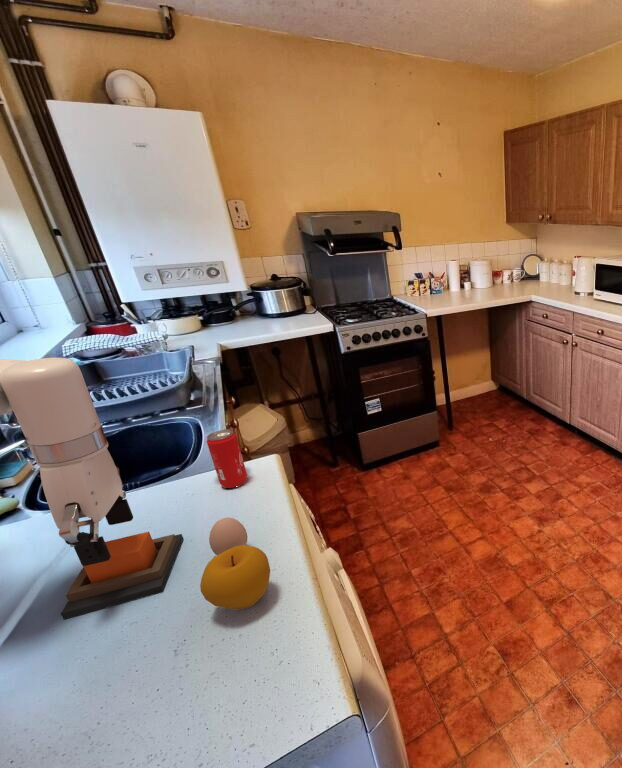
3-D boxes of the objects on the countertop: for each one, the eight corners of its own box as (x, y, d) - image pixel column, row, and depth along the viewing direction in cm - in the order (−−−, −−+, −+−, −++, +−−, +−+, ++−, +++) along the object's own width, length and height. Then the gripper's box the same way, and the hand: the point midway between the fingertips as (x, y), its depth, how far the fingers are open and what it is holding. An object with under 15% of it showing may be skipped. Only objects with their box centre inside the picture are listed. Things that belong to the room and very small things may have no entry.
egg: (253, 557, 74) (242, 522, 71) (216, 571, 71) (203, 535, 69) (249, 539, 78) (239, 505, 76) (215, 552, 75) (203, 517, 73)
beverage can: (224, 478, 97) (209, 430, 92) (250, 474, 98) (237, 426, 94) (217, 492, 92) (201, 442, 88) (245, 487, 94) (230, 437, 89)
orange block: (93, 587, 67) (82, 565, 66) (106, 565, 71) (96, 543, 70) (148, 573, 70) (139, 550, 68) (157, 552, 74) (149, 531, 72)
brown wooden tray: (63, 619, 63) (55, 605, 62) (100, 559, 74) (94, 547, 73) (163, 591, 68) (157, 578, 67) (183, 538, 79) (179, 526, 78)
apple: (202, 633, 61) (183, 585, 58) (222, 586, 68) (206, 541, 65) (270, 617, 63) (255, 570, 60) (281, 574, 71) (269, 530, 67)
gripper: (65, 424, 68) (102, 514, 74) (-3, 482, 53) (50, 588, 60) (125, 416, 71) (155, 503, 77) (76, 469, 56) (119, 572, 62)
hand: (110, 540), depth 68 cm, fingers open, 9 cm apart
